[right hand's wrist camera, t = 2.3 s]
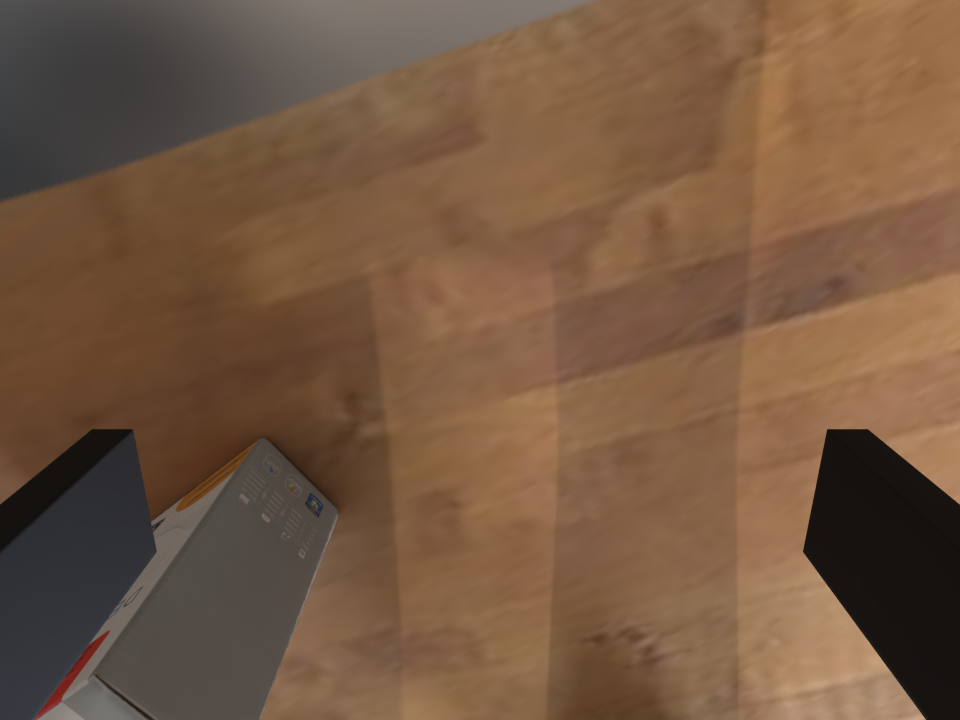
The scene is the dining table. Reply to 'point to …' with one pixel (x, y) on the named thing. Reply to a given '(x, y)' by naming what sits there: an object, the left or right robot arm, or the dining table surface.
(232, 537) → the hard drive box
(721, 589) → the dining table surface
